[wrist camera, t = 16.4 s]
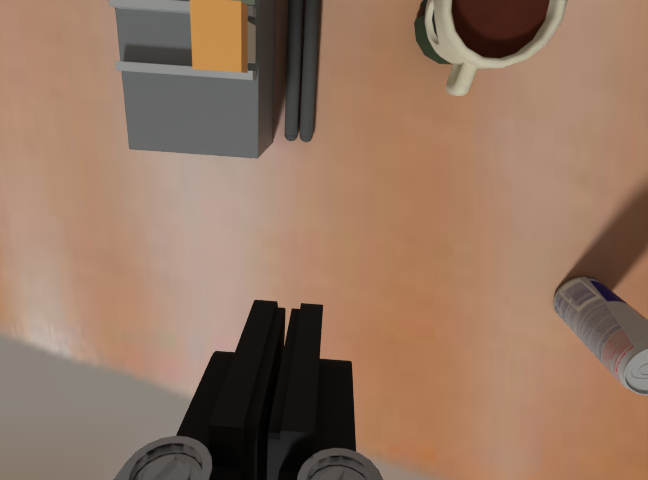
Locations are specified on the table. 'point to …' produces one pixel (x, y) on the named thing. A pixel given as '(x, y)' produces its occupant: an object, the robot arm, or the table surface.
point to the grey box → (192, 83)
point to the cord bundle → (308, 68)
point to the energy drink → (607, 329)
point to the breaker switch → (221, 36)
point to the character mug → (484, 34)
